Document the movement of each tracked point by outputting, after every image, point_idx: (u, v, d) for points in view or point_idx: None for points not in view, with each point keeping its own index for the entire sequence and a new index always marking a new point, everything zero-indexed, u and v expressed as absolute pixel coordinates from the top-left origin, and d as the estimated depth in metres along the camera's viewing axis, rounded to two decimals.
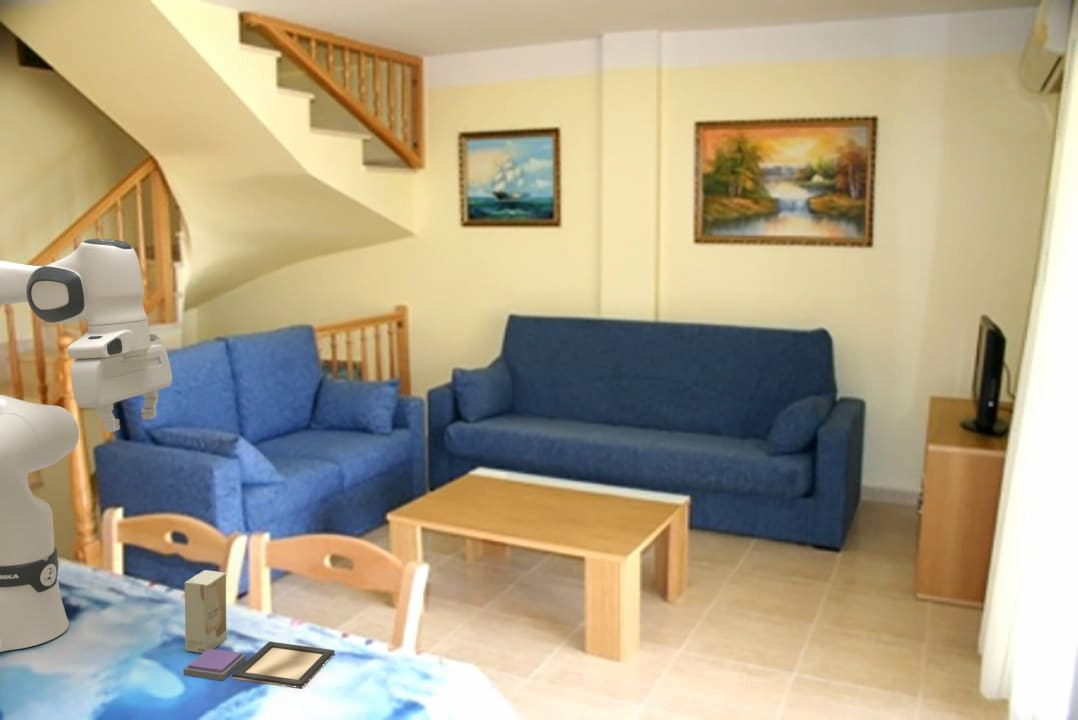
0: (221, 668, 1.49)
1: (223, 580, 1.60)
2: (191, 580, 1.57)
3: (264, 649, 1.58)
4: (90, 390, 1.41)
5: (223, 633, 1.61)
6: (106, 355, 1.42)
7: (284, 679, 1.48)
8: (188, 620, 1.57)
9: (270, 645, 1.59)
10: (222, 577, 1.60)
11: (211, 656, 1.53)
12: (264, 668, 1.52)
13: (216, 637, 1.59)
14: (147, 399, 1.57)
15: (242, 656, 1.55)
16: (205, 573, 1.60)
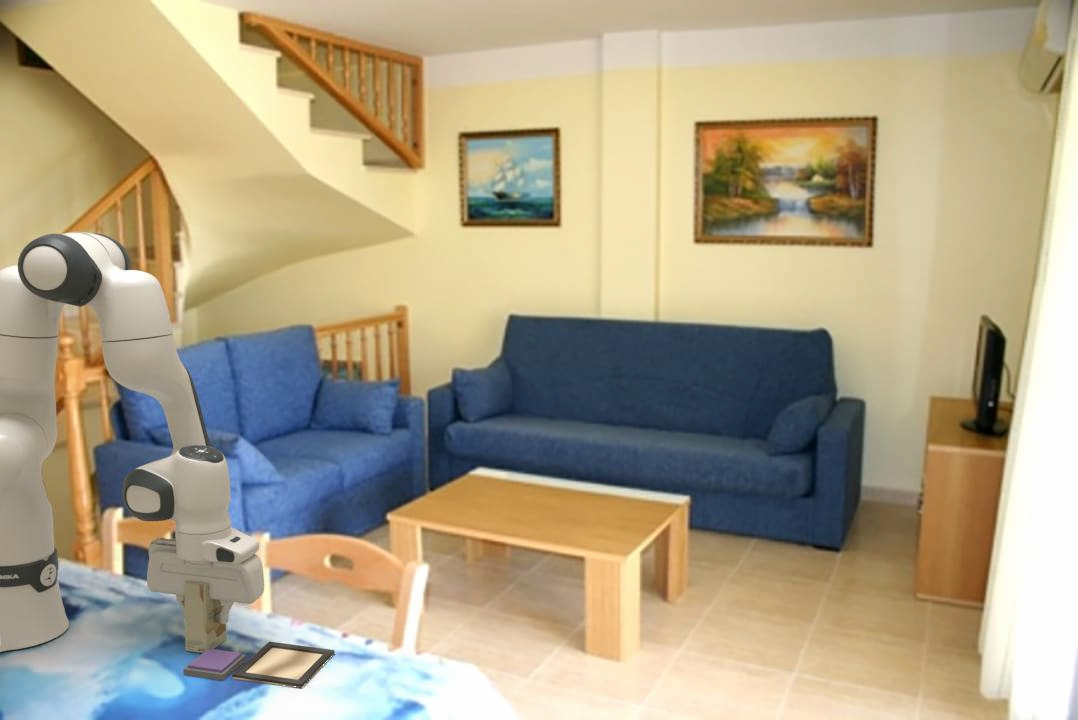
0: (221, 668, 1.49)
1: None
2: None
3: (264, 649, 1.58)
4: (262, 582, 1.57)
5: (223, 633, 1.61)
6: None
7: (284, 679, 1.48)
8: (188, 620, 1.57)
9: (270, 645, 1.59)
10: None
11: (211, 656, 1.53)
12: (264, 668, 1.52)
13: (216, 637, 1.59)
14: (183, 601, 1.59)
15: (242, 656, 1.55)
16: None
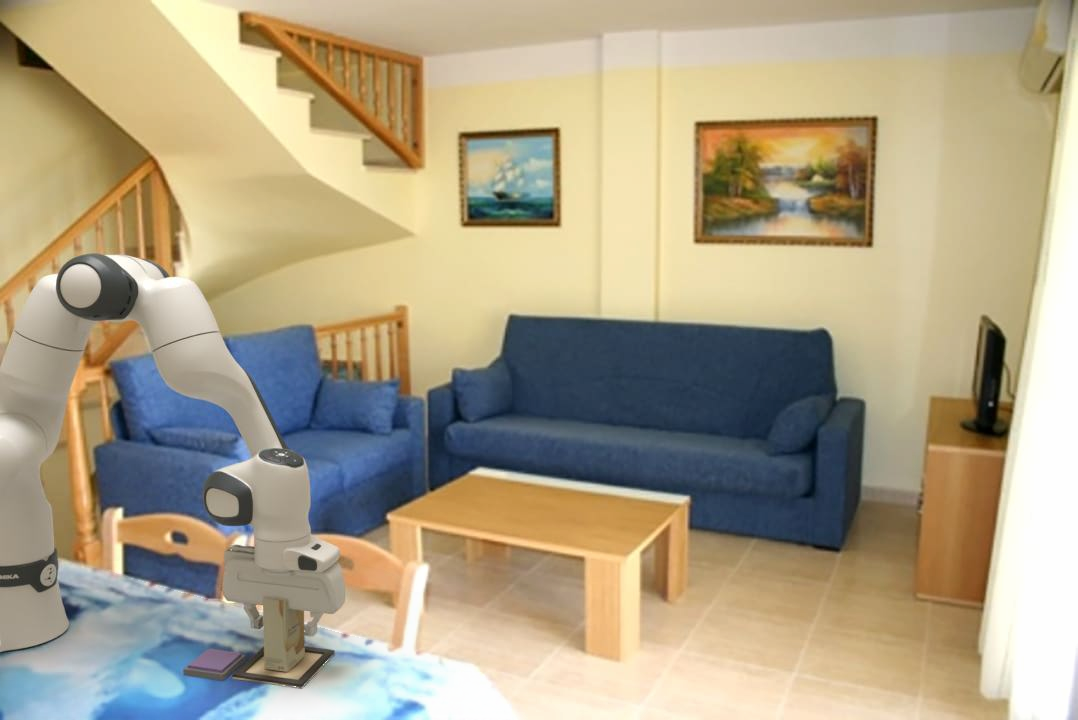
0: (221, 668, 1.49)
1: None
2: None
3: None
4: (343, 591, 1.51)
5: (302, 650, 1.55)
6: None
7: (284, 679, 1.48)
8: (267, 637, 1.51)
9: None
10: None
11: (211, 656, 1.53)
12: (264, 668, 1.52)
13: (295, 654, 1.53)
14: (251, 609, 1.53)
15: (242, 656, 1.55)
16: None
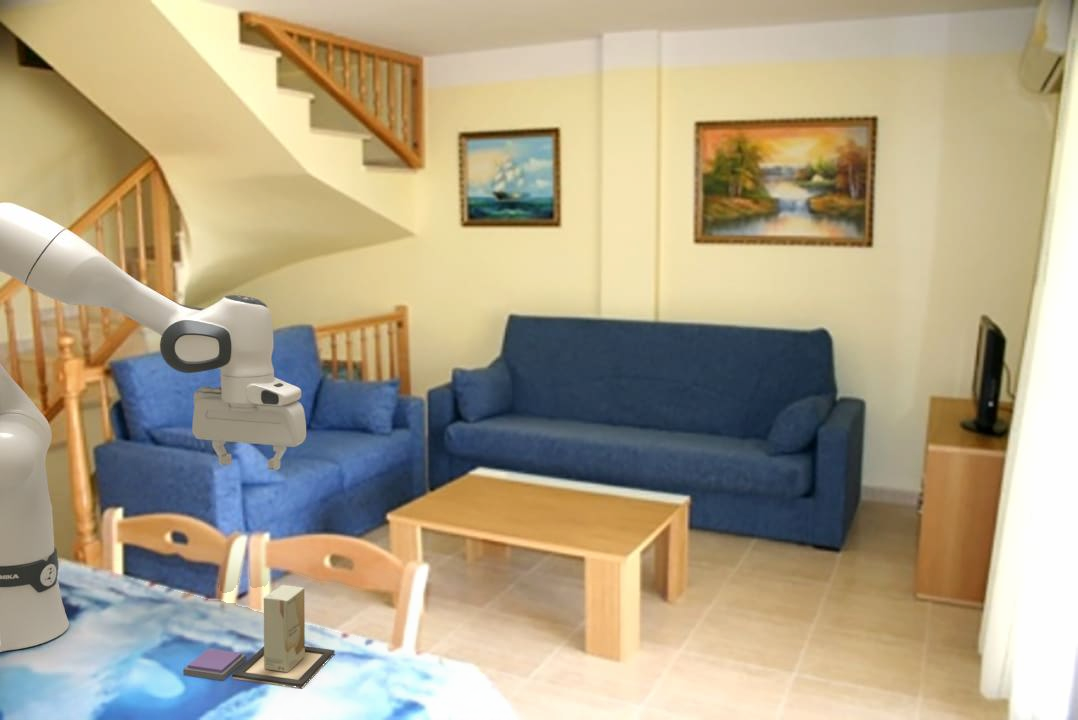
0: (221, 668, 1.49)
1: (302, 595, 1.54)
2: (270, 595, 1.51)
3: None
4: (304, 428, 1.62)
5: (302, 651, 1.55)
6: None
7: (284, 679, 1.48)
8: (267, 637, 1.51)
9: None
10: (301, 592, 1.54)
11: (211, 656, 1.53)
12: (264, 668, 1.52)
13: (296, 654, 1.53)
14: (218, 447, 1.65)
15: (242, 656, 1.55)
16: (283, 588, 1.54)
